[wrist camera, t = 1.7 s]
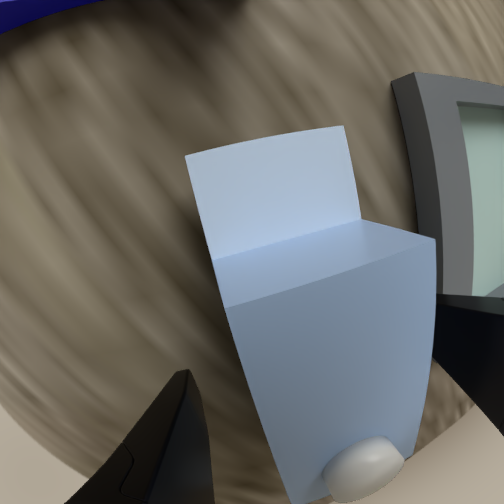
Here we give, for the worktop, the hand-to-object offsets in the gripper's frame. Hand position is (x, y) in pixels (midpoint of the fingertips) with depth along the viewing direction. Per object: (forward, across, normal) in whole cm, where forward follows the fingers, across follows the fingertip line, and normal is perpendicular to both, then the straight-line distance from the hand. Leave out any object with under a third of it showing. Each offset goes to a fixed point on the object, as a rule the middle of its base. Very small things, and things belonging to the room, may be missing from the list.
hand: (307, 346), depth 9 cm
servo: (+2, 0, 0) cm, 2 cm away
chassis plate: (+2, -11, -2) cm, 11 cm away
